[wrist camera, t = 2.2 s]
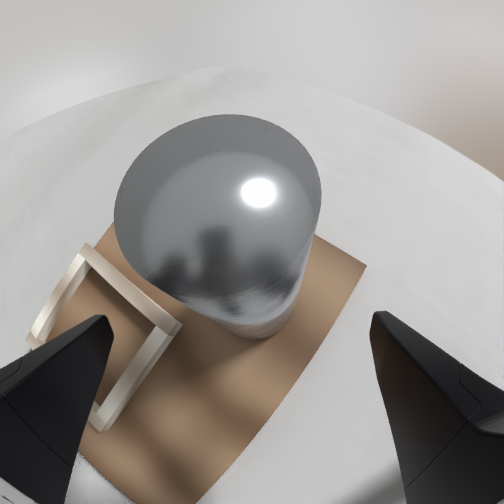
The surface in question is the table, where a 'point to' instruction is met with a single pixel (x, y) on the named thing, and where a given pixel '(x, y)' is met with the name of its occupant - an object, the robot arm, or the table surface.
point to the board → (184, 370)
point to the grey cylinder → (223, 220)
